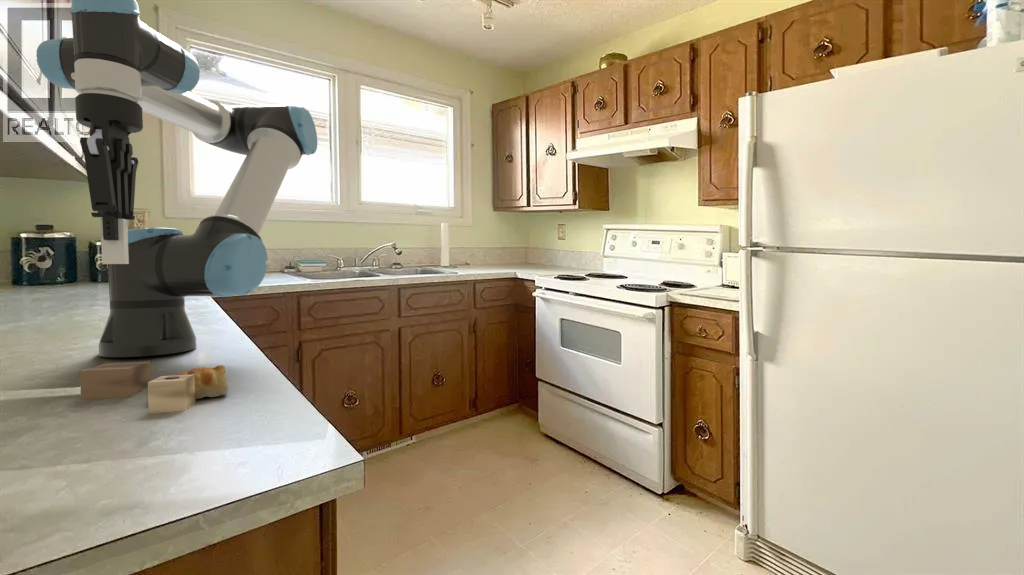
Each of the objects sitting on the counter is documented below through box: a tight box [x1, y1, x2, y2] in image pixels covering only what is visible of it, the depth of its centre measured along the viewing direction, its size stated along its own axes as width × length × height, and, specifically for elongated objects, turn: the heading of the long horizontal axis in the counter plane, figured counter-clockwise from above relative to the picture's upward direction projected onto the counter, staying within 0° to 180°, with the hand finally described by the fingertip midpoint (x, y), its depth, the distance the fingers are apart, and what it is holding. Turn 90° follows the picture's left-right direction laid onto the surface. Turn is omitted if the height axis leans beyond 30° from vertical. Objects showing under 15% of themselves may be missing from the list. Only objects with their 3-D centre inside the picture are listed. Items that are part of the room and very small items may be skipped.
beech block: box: [147, 374, 196, 414], centre depth 65 cm, size 4×4×4 cm
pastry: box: [176, 364, 229, 400], centre depth 71 cm, size 9×7×4 cm
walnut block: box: [79, 361, 152, 400], centre depth 73 cm, size 6×6×4 cm
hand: (115, 263), depth 73 cm, fingers closed
